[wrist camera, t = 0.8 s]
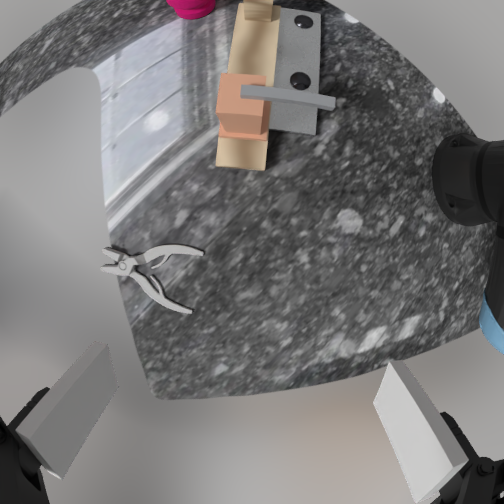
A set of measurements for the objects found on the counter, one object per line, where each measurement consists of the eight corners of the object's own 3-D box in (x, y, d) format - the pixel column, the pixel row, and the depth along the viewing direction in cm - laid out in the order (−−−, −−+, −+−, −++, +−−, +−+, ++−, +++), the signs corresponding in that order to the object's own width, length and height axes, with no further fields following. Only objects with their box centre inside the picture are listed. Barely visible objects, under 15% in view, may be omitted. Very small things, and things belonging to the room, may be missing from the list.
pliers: (189, 317, 37) (99, 289, 37) (192, 312, 39) (104, 286, 38) (202, 252, 35) (104, 227, 34) (204, 249, 37) (109, 225, 36)
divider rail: (312, 18, 28) (332, -33, 15) (302, 175, 34) (329, 169, 21) (239, 9, 28) (234, -44, 15) (217, 166, 34) (197, 155, 21)
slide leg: (311, 109, 30) (336, 78, 19) (308, 147, 31) (333, 129, 20) (224, 100, 30) (211, 63, 19) (219, 137, 31) (203, 114, 20)
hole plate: (319, 17, 28) (320, 13, 27) (313, 136, 33) (315, 134, 32) (280, 10, 28) (280, 6, 27) (268, 130, 33) (268, 128, 32)
